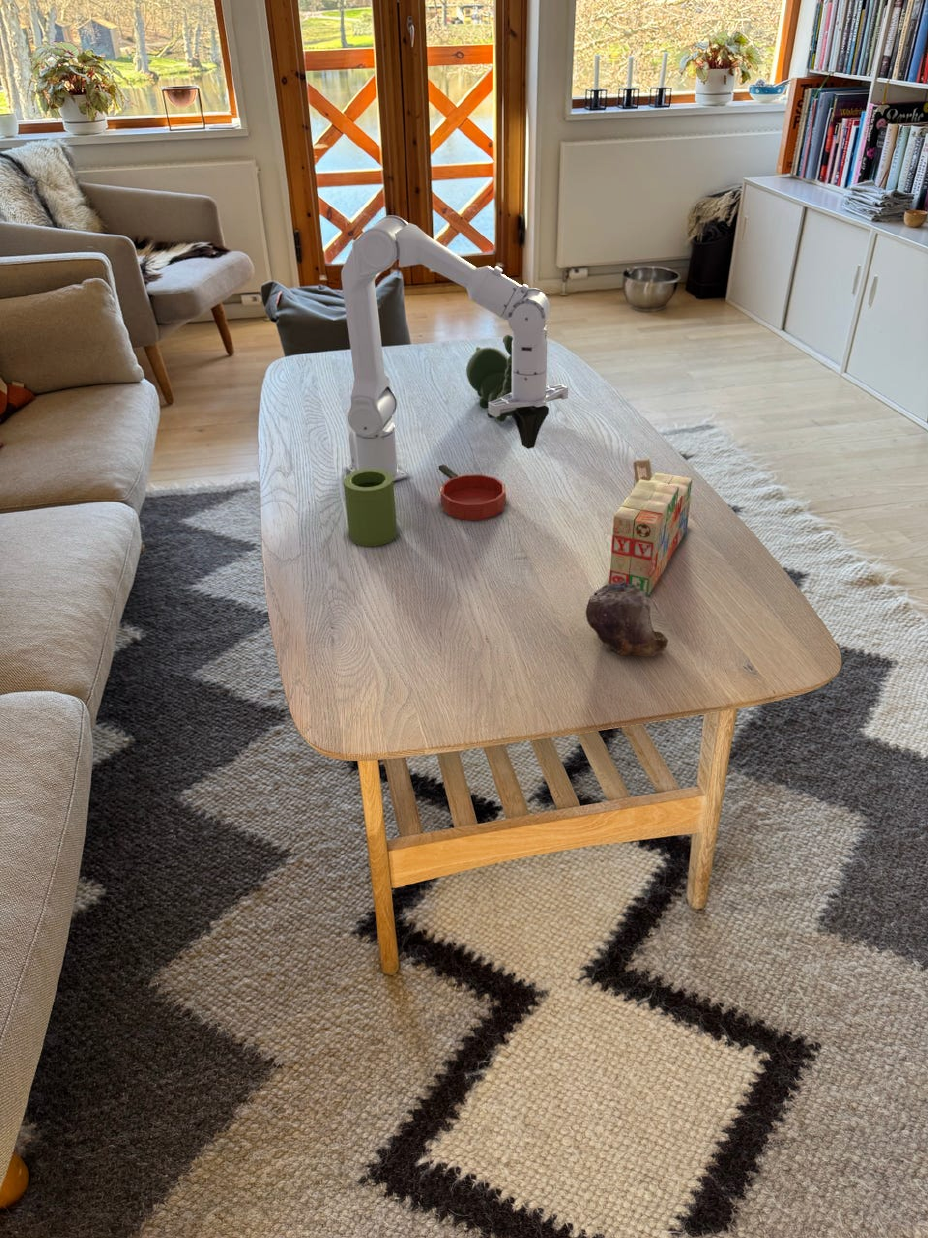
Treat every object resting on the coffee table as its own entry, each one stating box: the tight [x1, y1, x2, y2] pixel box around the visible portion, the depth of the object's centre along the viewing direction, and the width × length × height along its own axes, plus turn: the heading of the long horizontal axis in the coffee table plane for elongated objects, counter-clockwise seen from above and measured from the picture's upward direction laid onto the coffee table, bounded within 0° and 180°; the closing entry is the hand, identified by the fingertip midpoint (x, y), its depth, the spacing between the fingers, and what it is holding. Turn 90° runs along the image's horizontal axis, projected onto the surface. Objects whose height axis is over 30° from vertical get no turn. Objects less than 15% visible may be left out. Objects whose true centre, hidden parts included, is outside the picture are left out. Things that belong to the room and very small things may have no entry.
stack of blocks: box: [608, 471, 693, 597], centre depth 143 cm, size 21×6×12 cm, turn 154°
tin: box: [633, 458, 653, 488], centre depth 155 cm, size 15×3×8 cm, turn 174°
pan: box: [437, 464, 507, 521], centre depth 163 cm, size 17×11×3 cm, turn 30°
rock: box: [585, 581, 669, 657], centre depth 126 cm, size 12×9×10 cm
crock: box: [343, 468, 398, 547], centre depth 152 cm, size 8×8×10 cm
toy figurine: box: [465, 334, 513, 422], centre depth 191 cm, size 9×19×25 cm
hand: (528, 445), depth 162 cm, fingers closed
